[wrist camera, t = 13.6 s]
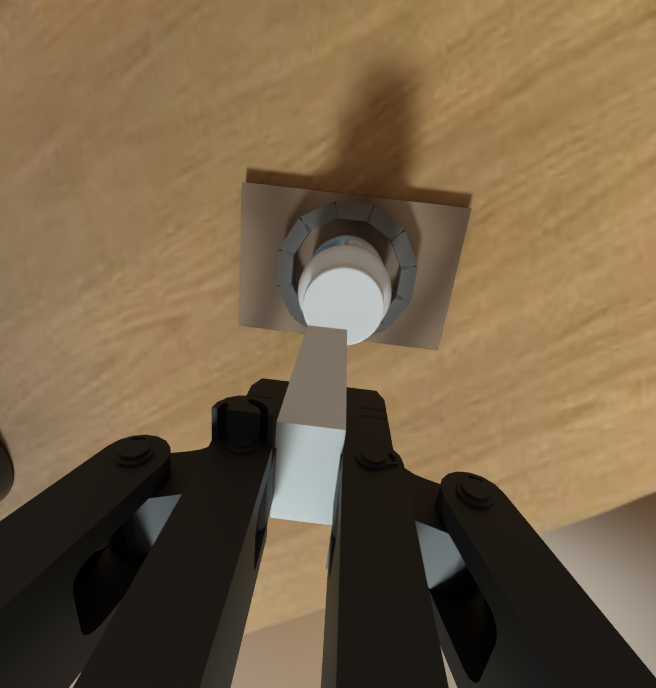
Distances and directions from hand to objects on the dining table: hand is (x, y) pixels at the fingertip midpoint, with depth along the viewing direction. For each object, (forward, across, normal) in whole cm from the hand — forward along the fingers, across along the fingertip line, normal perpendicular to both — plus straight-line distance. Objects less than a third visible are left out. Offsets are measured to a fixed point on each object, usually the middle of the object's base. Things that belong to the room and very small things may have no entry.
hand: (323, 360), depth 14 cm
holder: (+19, +1, 0) cm, 19 cm away
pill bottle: (+18, +1, 0) cm, 18 cm away
